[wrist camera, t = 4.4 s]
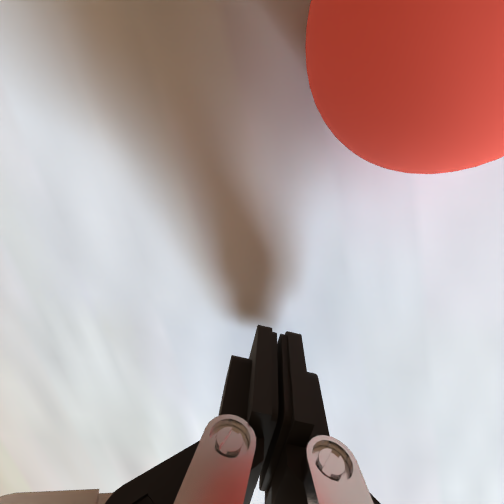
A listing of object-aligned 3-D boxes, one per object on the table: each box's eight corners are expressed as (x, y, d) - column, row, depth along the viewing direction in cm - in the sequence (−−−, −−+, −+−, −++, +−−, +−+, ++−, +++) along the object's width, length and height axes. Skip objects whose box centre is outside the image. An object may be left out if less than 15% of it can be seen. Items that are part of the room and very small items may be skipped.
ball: (393, -194, 7) (296, 88, 11) (413, -487, 2) (241, 157, 7) (654, -99, 6) (452, 152, 11) (1166, -242, 2) (498, 265, 6)
